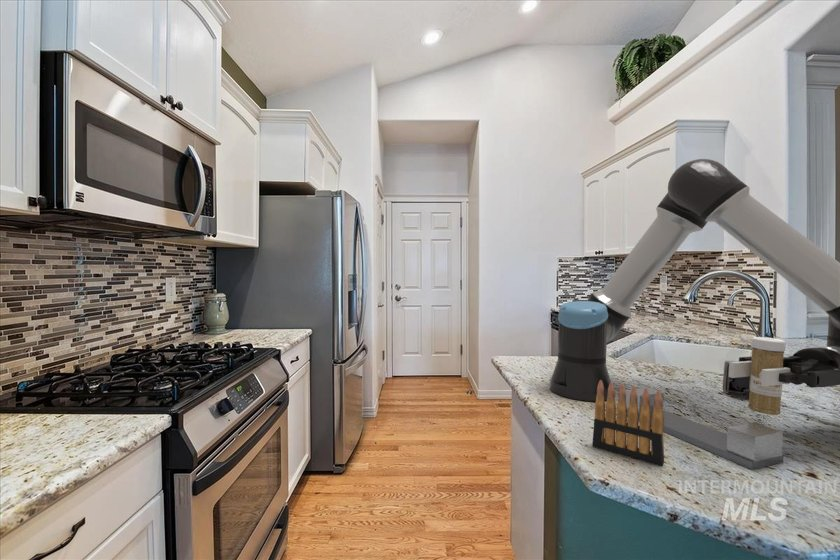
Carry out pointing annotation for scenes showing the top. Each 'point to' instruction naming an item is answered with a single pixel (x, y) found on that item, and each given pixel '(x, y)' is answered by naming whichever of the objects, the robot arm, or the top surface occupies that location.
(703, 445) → the rail
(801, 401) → the top surface
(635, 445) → the ammunition clip
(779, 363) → the sprinkles bottle
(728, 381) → the electrical switch
